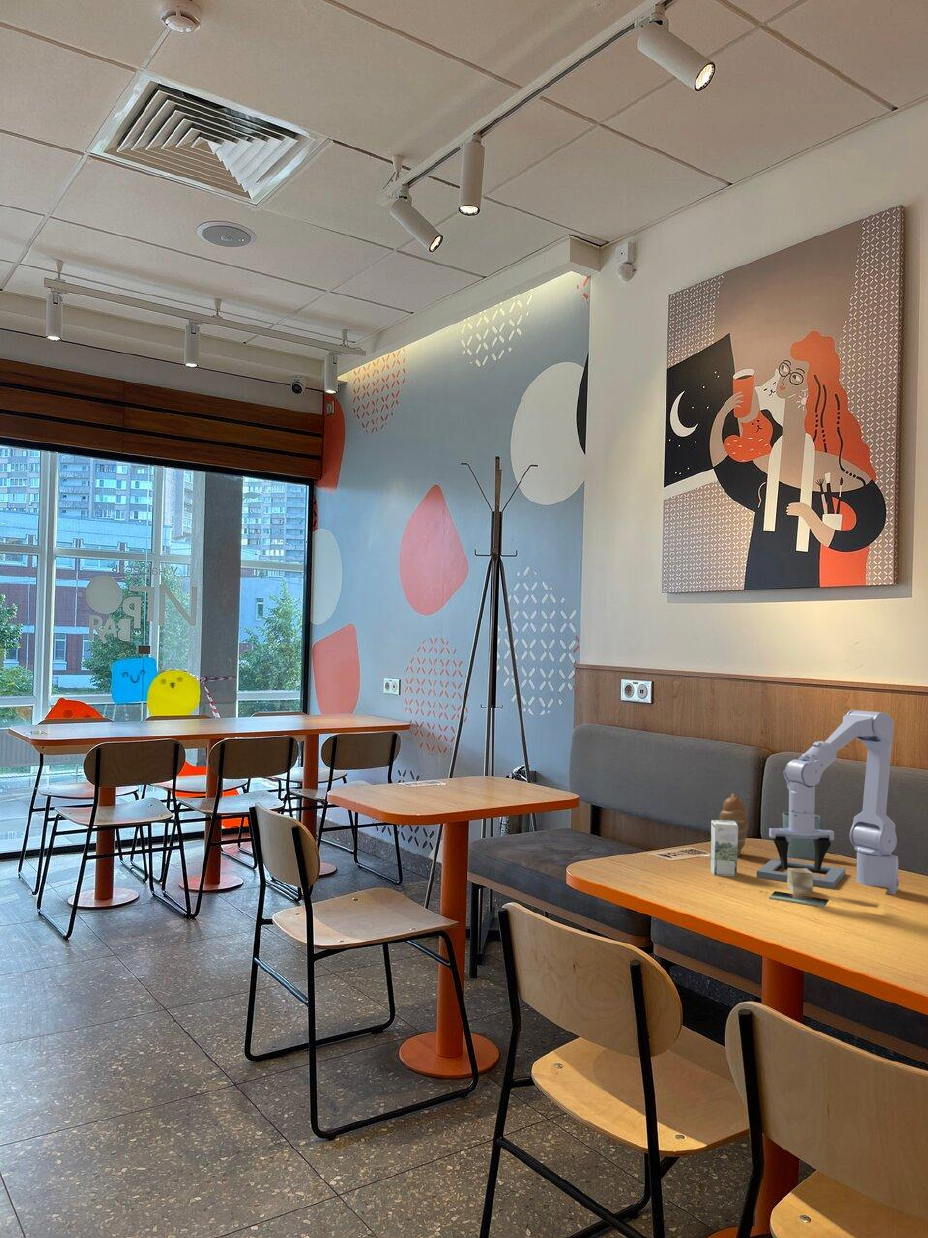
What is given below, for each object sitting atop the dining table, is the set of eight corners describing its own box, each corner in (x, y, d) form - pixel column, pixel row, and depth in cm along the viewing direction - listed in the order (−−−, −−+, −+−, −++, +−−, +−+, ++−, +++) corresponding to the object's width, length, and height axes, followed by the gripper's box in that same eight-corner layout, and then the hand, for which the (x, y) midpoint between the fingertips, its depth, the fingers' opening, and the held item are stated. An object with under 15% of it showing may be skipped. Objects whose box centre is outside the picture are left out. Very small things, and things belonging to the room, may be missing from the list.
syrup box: (732, 876, 233) (733, 820, 233) (737, 882, 227) (738, 824, 227) (709, 875, 233) (710, 818, 234) (713, 881, 227) (715, 823, 228)
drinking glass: (775, 853, 262) (775, 811, 263) (807, 853, 264) (807, 811, 265) (793, 861, 253) (794, 818, 253) (827, 861, 254) (827, 818, 255)
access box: (845, 880, 233) (845, 868, 233) (833, 895, 217) (833, 882, 217) (772, 869, 242) (773, 858, 242) (756, 883, 227) (756, 871, 227)
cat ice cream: (751, 863, 248) (752, 797, 249) (722, 862, 248) (723, 796, 249) (742, 856, 257) (743, 792, 258) (714, 855, 257) (715, 791, 258)
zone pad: (830, 897, 215) (830, 896, 215) (823, 907, 206) (823, 905, 206) (778, 889, 221) (778, 888, 221) (769, 898, 213) (769, 896, 213)
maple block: (806, 894, 216) (806, 868, 216) (812, 899, 212) (812, 873, 212) (787, 893, 216) (787, 867, 217) (792, 898, 212) (793, 872, 212)
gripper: (827, 809, 218) (826, 866, 218) (765, 807, 219) (765, 864, 218) (837, 814, 211) (836, 873, 210) (774, 812, 212) (773, 871, 211)
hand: (800, 869), depth 214 cm, fingers open, 7 cm apart
